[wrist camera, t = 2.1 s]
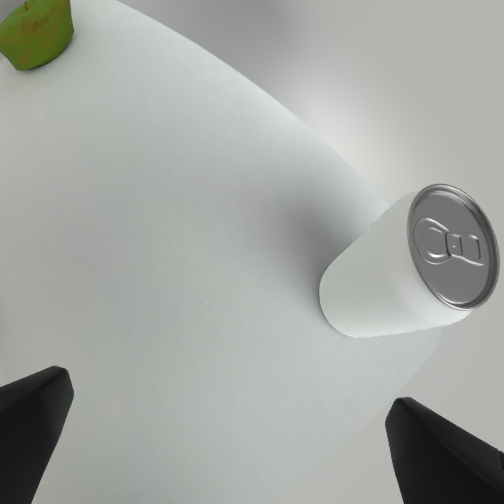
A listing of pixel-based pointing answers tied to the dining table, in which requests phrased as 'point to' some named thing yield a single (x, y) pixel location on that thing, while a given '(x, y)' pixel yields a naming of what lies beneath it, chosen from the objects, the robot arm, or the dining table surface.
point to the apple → (36, 32)
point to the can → (413, 267)
